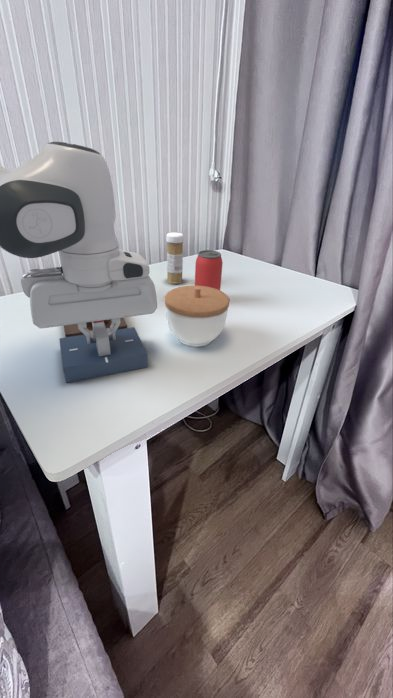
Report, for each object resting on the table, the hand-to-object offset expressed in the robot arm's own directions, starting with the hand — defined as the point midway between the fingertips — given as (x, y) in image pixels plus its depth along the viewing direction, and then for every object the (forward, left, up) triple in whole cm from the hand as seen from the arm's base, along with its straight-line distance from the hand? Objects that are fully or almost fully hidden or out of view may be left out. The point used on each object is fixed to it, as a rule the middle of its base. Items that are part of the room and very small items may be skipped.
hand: (101, 340), depth 59 cm
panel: (0, 0, -4) cm, 4 cm away
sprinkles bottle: (+25, +33, -4) cm, 41 cm away
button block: (0, +12, -4) cm, 12 cm away
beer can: (+29, +19, -4) cm, 35 cm away
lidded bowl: (+19, +2, -4) cm, 19 cm away
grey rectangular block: (0, 0, -1) cm, 1 cm away
